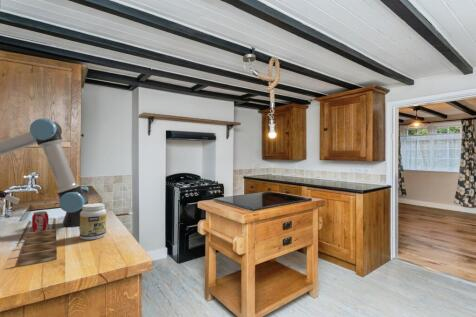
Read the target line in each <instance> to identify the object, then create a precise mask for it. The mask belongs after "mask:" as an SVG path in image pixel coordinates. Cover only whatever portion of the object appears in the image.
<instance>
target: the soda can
mask: <svg viewBox="0 0 476 317" xmlns="http://www.w3.org/2000/svg"><path fill="white" fill-rule="evenodd" d="M46 230H49V214H48V212H47V211H42V210H41V211H36V212H35V211H34V212H33V215H32V217H31V232H38V231H46Z"/></svg>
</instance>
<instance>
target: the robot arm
mask: <svg viewBox="0 0 476 317" xmlns="http://www.w3.org/2000/svg"><path fill="white" fill-rule="evenodd" d="M62 133H63V130H62V126H60V124H59V123H58V122H56V121H53V120H51V119H49V118H37V119H35V120H33V121H32V122H31V123H30V125H29V131H28V132H24V133H21V134H17V135H15V136H13V137H10V138H9V137H8V138H6V139H2V140H0V157H1V156H4V155H7V154H10V153H12V152H15V151H19V150H21V149H25V148H27V147H31V146H33V145H36V144H37V147H40V148H42V149H43V152H44V155H45V157H46V160H47V162H48V165H49V167H50V170H51V173H52V175H53V177H54V180H55V182H56V184H57V188H58V190H57V192H56V193H57V197H58V199H59V200H58V204H59V207H60V209H61V210H63V211H64V212H66V213H65V214H64V215H65V216H64V218H63V221H62V226H64V227H80V212H81V211H82V210H83V209H82V206H83V205H85V204H89V192H90V191H89V187H88V186H81V185H80V184H79V183H76V182H77V181H76V179H75V177H74V175H73V171H72V170H71V166H70V164H69V161H68V159H67V156H66V154H65V152H64V149H63V147H62V142H63V141H64V140H63V137H62ZM0 198H2V199H4V200H6V201H9V202H10V203H12V204H14V205H18V204H19V202H20V198H18V197H15V196H13V195H10V192H9V191H8V192H6V191H4V190H3V191H2V190H0ZM5 204H6V202H5V201H3V200H1V199H0V208H3V207H4V206H5Z"/></svg>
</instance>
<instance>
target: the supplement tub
mask: <svg viewBox="0 0 476 317" xmlns="http://www.w3.org/2000/svg"><path fill="white" fill-rule="evenodd" d="M105 206H106V205H105V203H101V202H97V203H96V202H94V203H88V204H85V205H83V206H82V209H83V210H82V211H81V212H80V226H79V239H81V240H83V241H84V240H85V241H89V240H91V241H92V240H98V239H101V238H103V237H105V236H106V233H107V210H106V209H105V208H106V207H105Z"/></svg>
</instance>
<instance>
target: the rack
mask: <svg viewBox="0 0 476 317" xmlns="http://www.w3.org/2000/svg"><path fill="white" fill-rule="evenodd" d="M23 244H24V245H22V246H21V253H20V254H18V266H19V267H21V266H27V265H32V264H38V263H39V264H40V263H44V262H50V261H55V260H57V258H58V256H57V254H58V250H57V249H58V248H57V244H58V243H57V229H56V228H55V229H48V230H46V231H38V232H32V231H31V232H26V238H24V242H23Z"/></svg>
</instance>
